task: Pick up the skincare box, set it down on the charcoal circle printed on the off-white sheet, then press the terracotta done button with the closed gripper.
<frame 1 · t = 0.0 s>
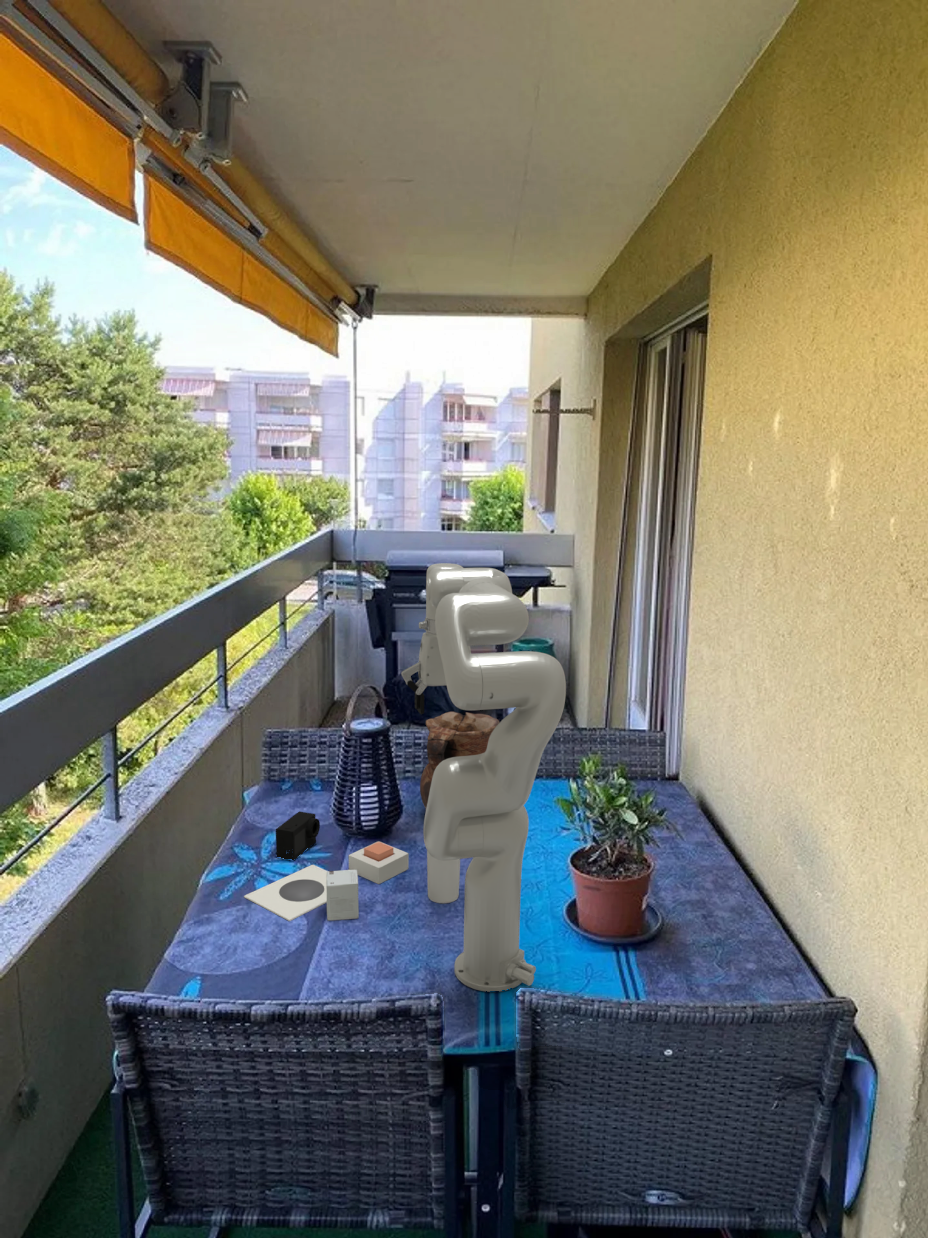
hand: (444, 710, 176), 37 cm above the table, tool pointing down, fingers open, 9 cm apart
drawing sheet: (301, 892, 179), on the table
jug: (462, 818, 216), on the table
button housing: (378, 870, 188), on the table
done button: (378, 853, 188), point 4 cm above the table, slide at 0.0 cm
digital camera: (299, 851, 197), on the table
skincare box: (342, 913, 171), on the table
mug: (445, 893, 180), on the table
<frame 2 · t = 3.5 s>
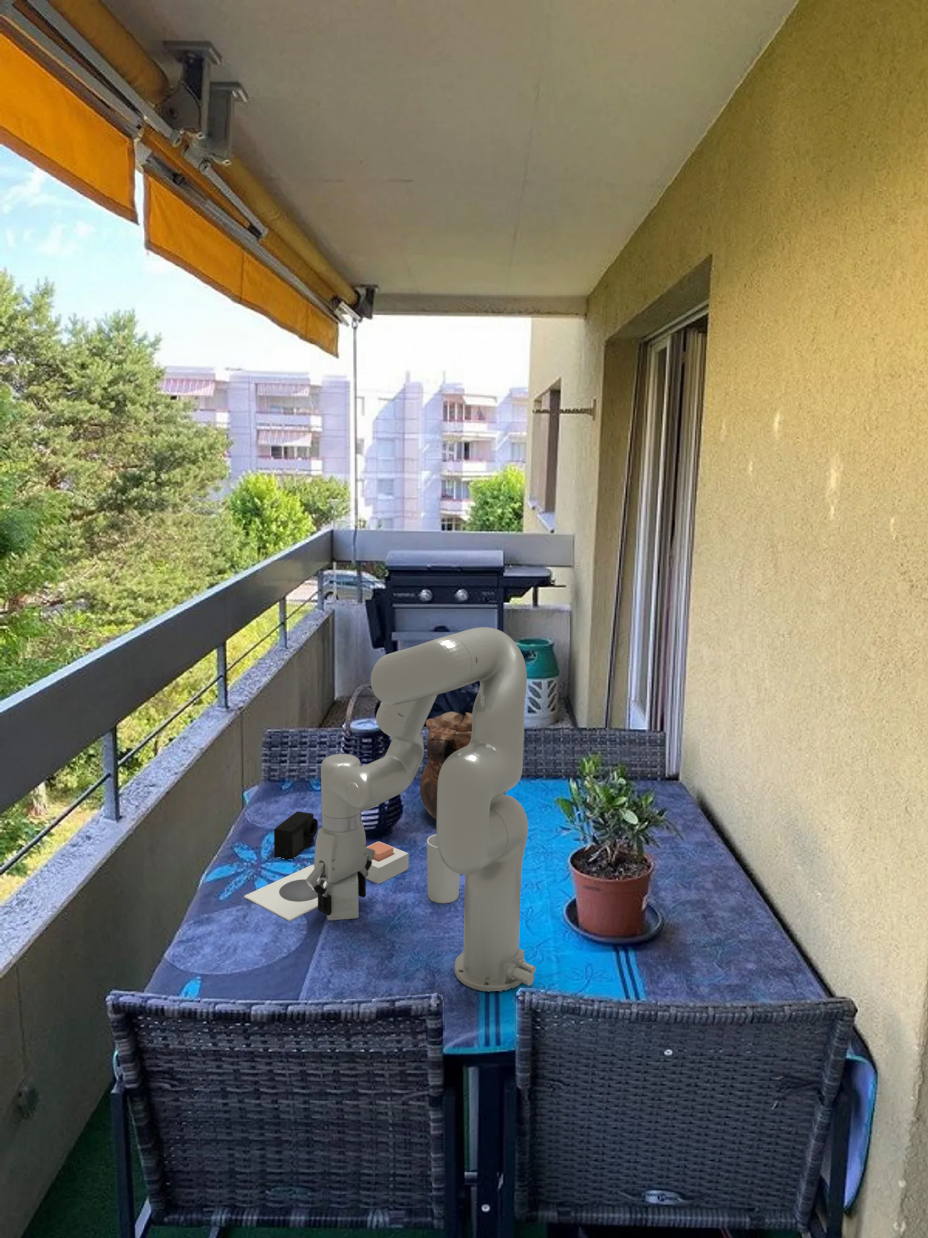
hand: (342, 903, 171), 2 cm above the table, tool pointing down, fingers closed on skincare box, 8 cm apart
skincare box: (342, 913, 171), on the table, touching gripper
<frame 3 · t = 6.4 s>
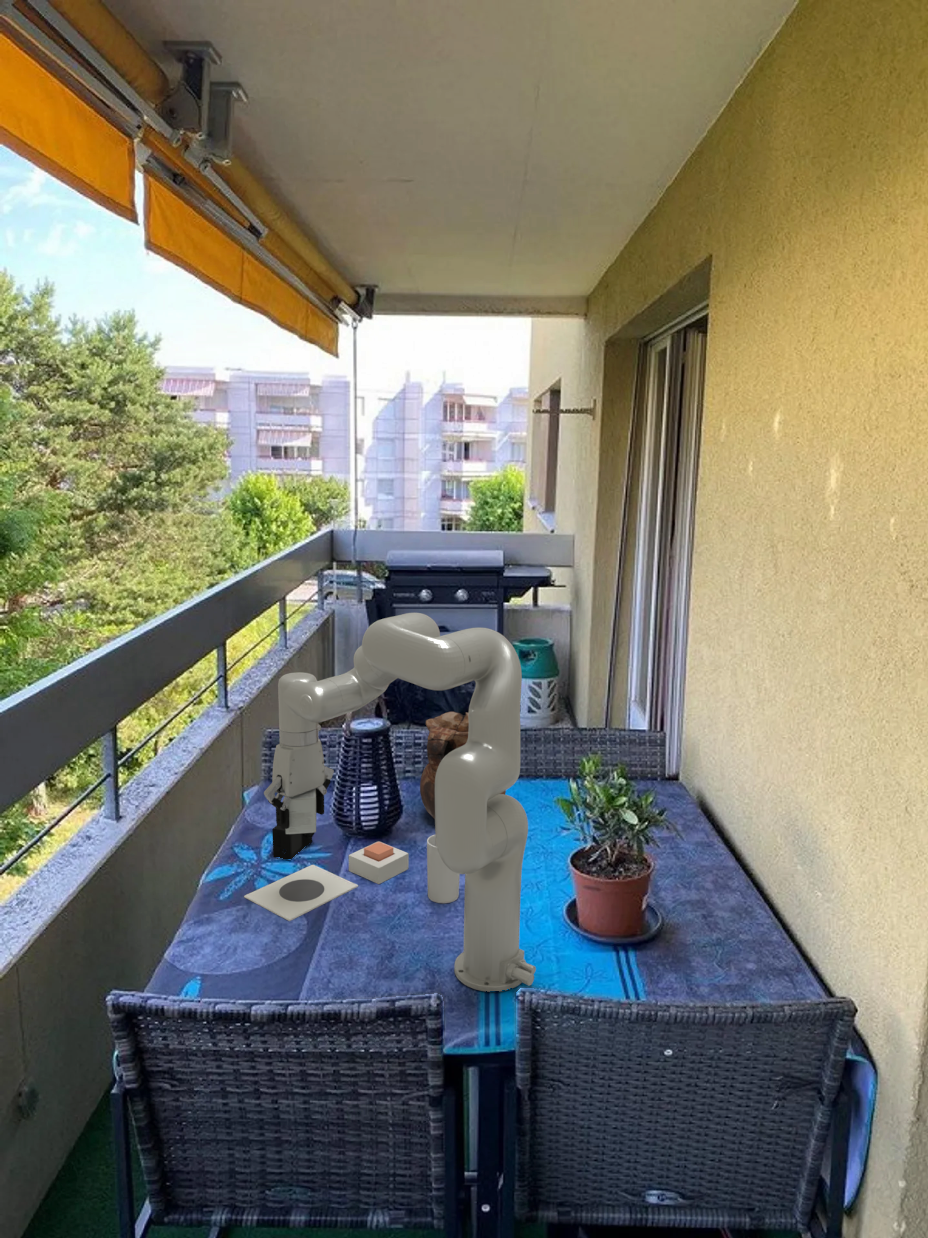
hand: (300, 819, 176), 16 cm above the table, tool pointing down, fingers closed on skincare box, 8 cm apart
skincare box: (301, 828, 176), point 14 cm above the table, touching gripper
when the fingers open (3 cm above the table, at t = 9.3 s): skincare box stays where it is, resting on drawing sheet.
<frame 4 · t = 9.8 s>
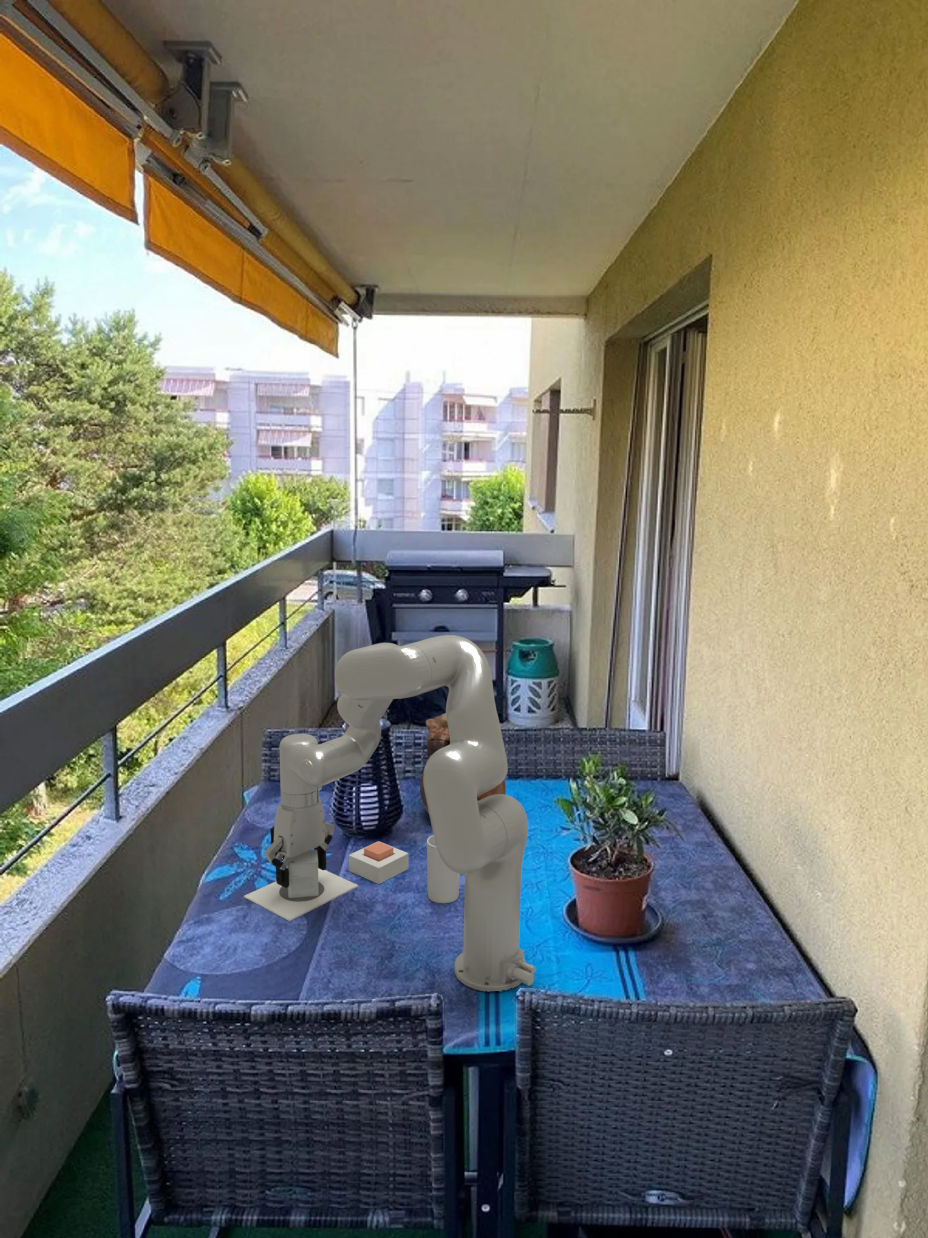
hand: (301, 876, 178), 3 cm above the table, tool pointing down, fingers open, 9 cm apart
skincare box: (303, 891, 178), resting on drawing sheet
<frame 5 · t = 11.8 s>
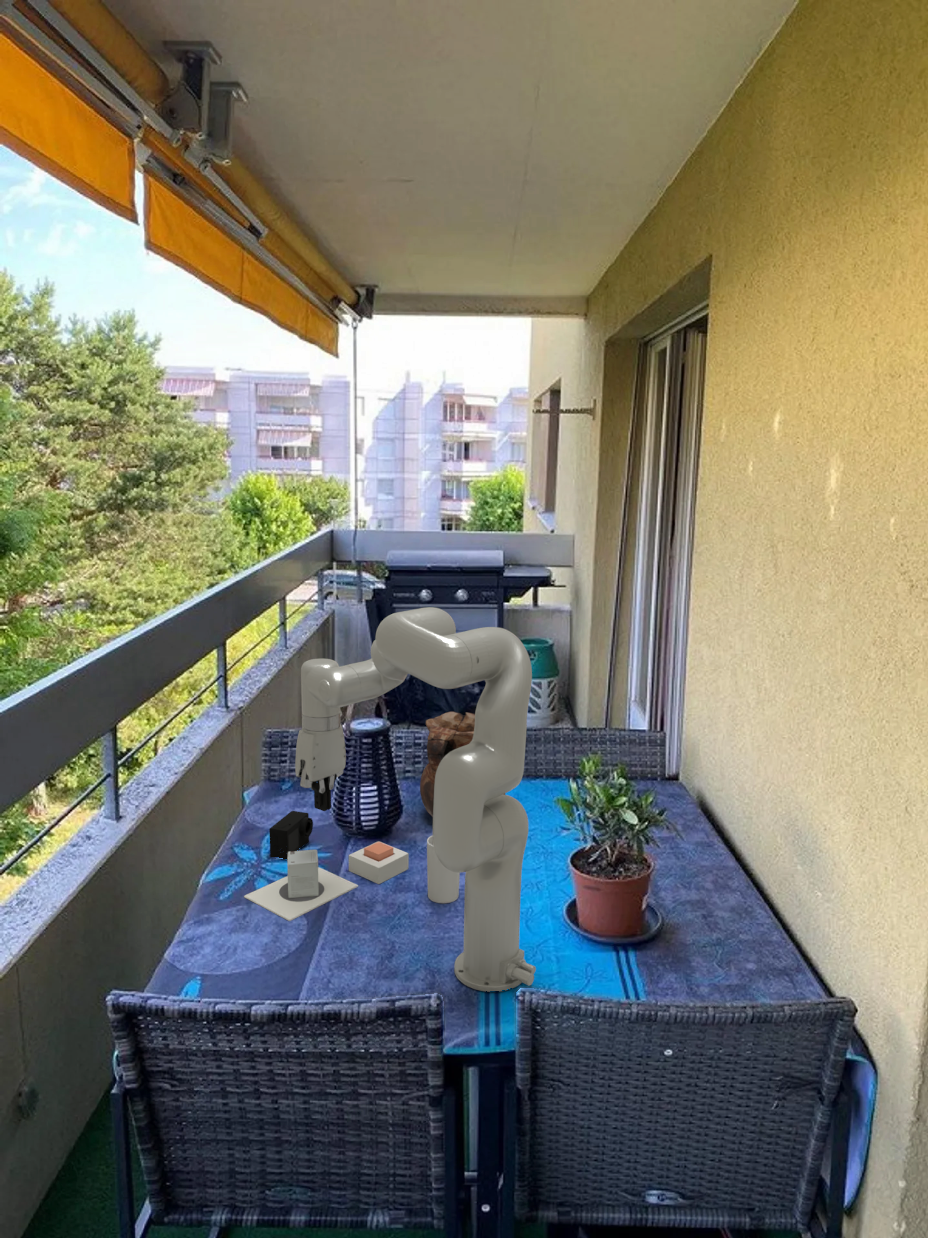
hand: (322, 808, 178), 17 cm above the table, tool pointing down, fingers closed
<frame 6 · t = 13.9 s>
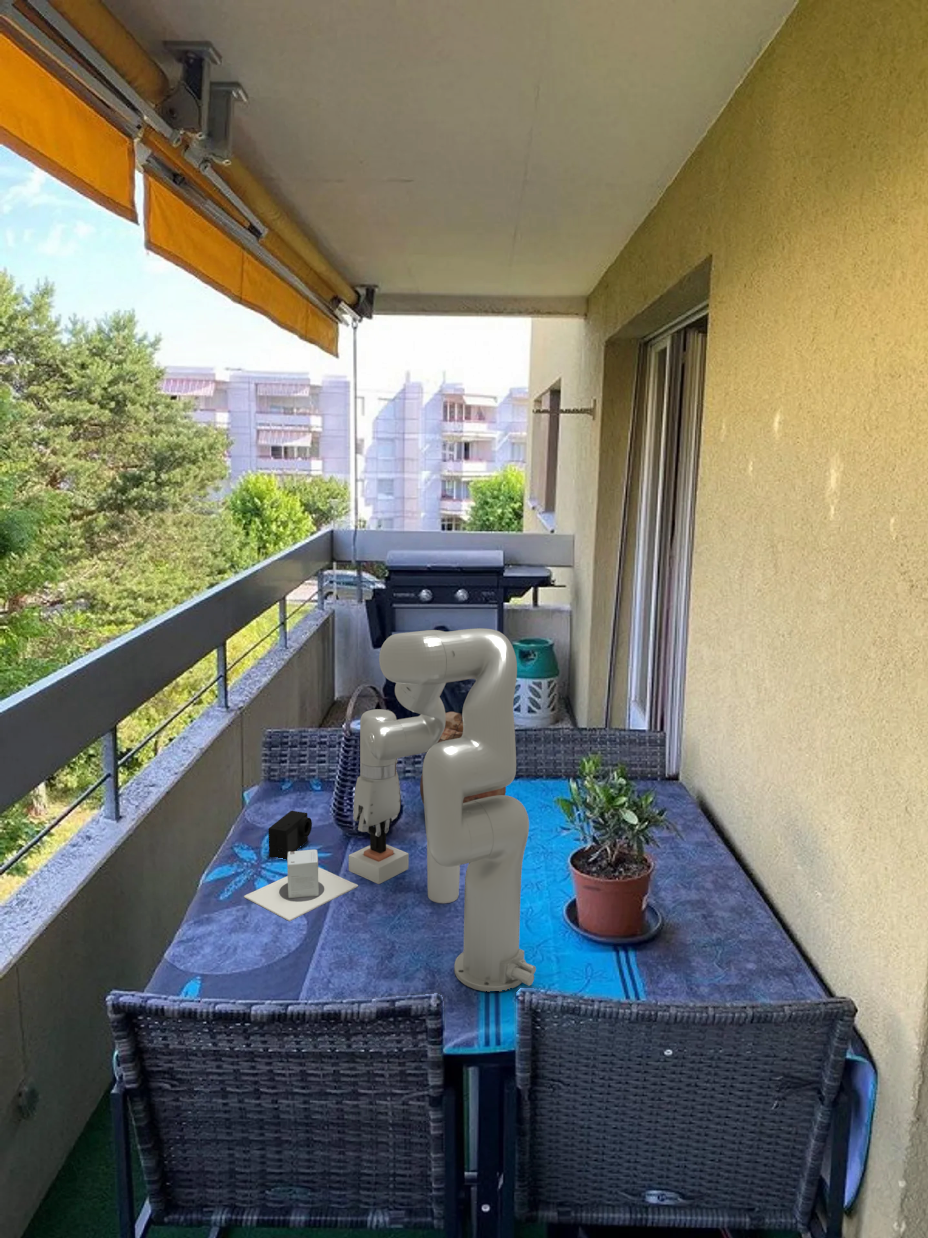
hand: (378, 850, 188), 4 cm above the table, tool pointing down, fingers closed
done button: (378, 856, 188), point 3 cm above the table, slide at 0.6 cm, touching gripper
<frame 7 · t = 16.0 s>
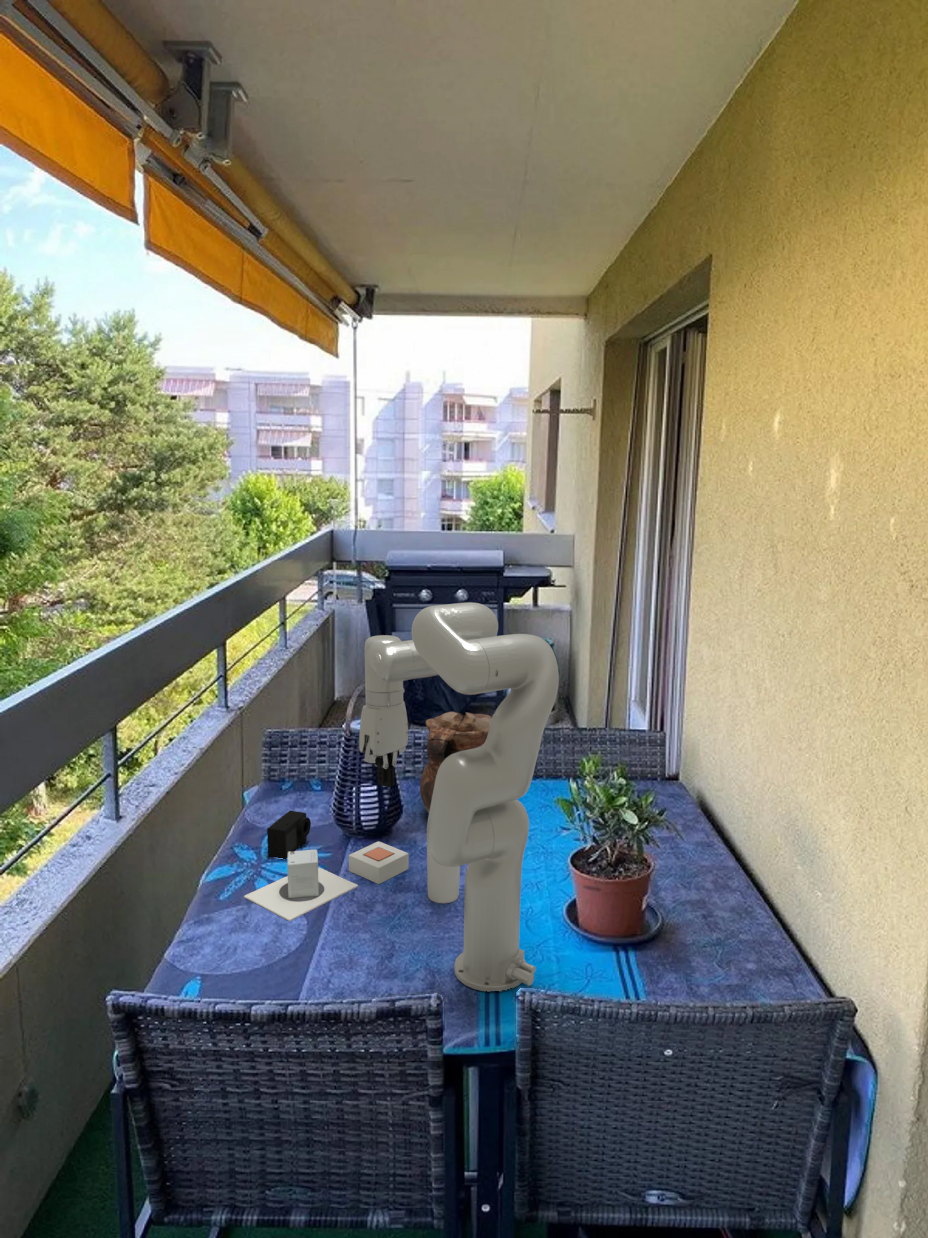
hand: (385, 784, 180), 21 cm above the table, tool pointing down, fingers closed
done button: (378, 859, 188), point 3 cm above the table, slide at 1.3 cm
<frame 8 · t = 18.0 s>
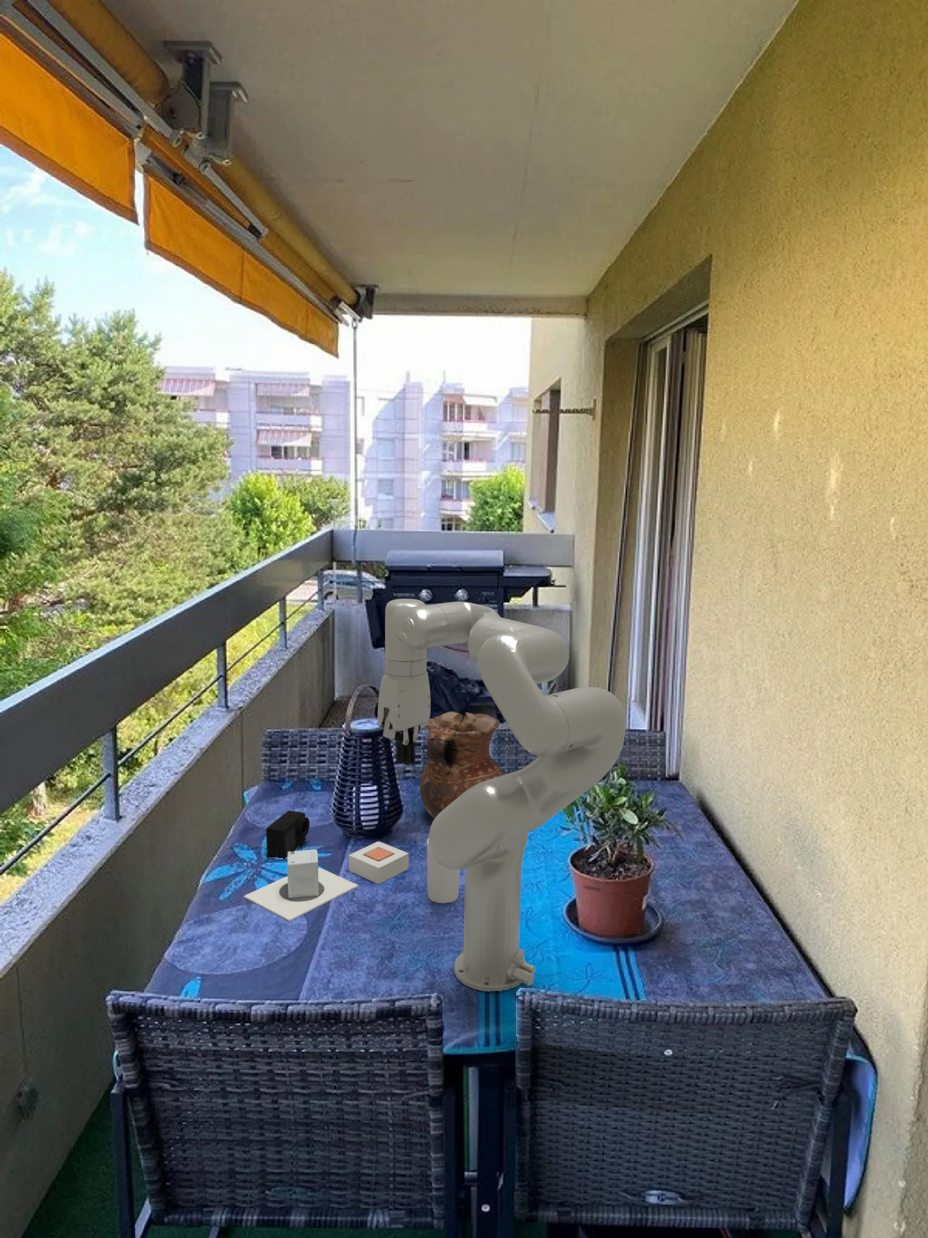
hand: (405, 762, 164), 31 cm above the table, tool pointing down, fingers closed
at the end: skincare box 0.3 cm off-centre on the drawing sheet, point 0.2 cm above the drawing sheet's base; skincare box tilted 0°; done button slide at 1.3 cm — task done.
